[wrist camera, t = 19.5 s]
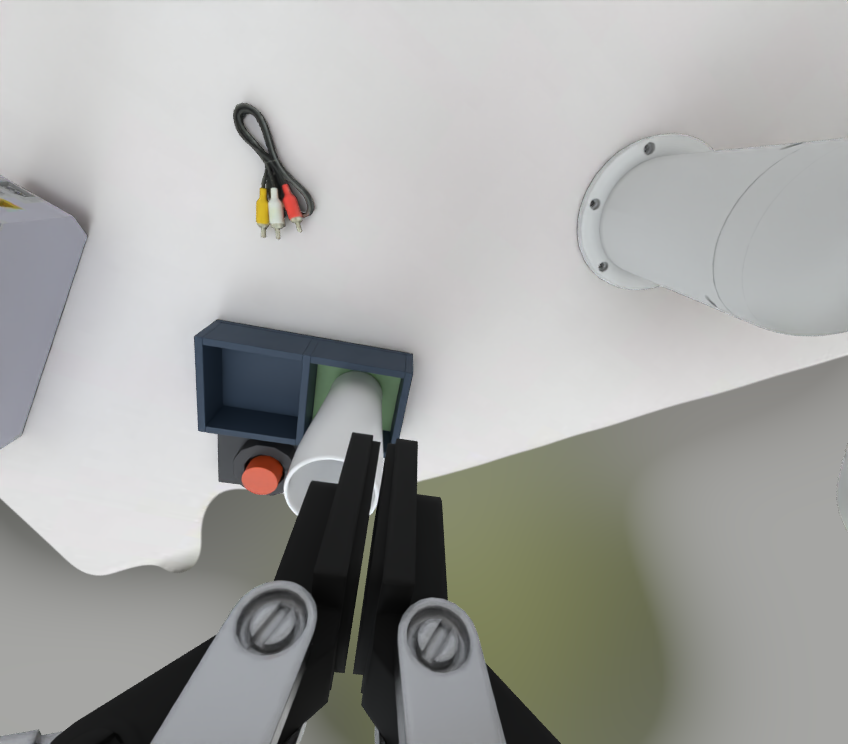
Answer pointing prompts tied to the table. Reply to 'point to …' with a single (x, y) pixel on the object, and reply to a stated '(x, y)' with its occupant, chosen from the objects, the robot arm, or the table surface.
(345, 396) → the drinking glass
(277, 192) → the composite cable
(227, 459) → the control block
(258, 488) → the button
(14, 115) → the table surface
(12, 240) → the game console
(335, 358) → the divided tray
